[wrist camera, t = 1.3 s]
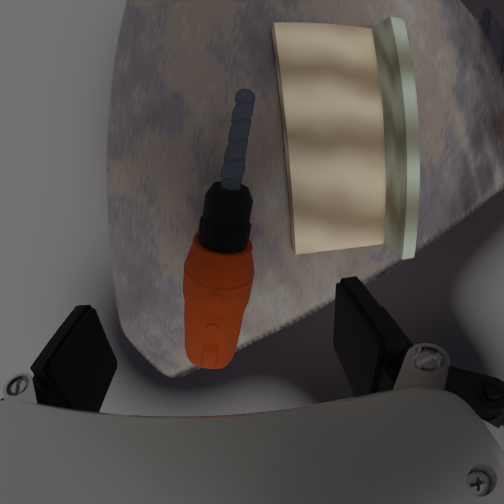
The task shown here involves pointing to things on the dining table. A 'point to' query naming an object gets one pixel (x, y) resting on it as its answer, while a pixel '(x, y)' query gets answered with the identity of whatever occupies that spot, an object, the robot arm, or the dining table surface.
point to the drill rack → (349, 135)
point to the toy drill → (221, 255)
